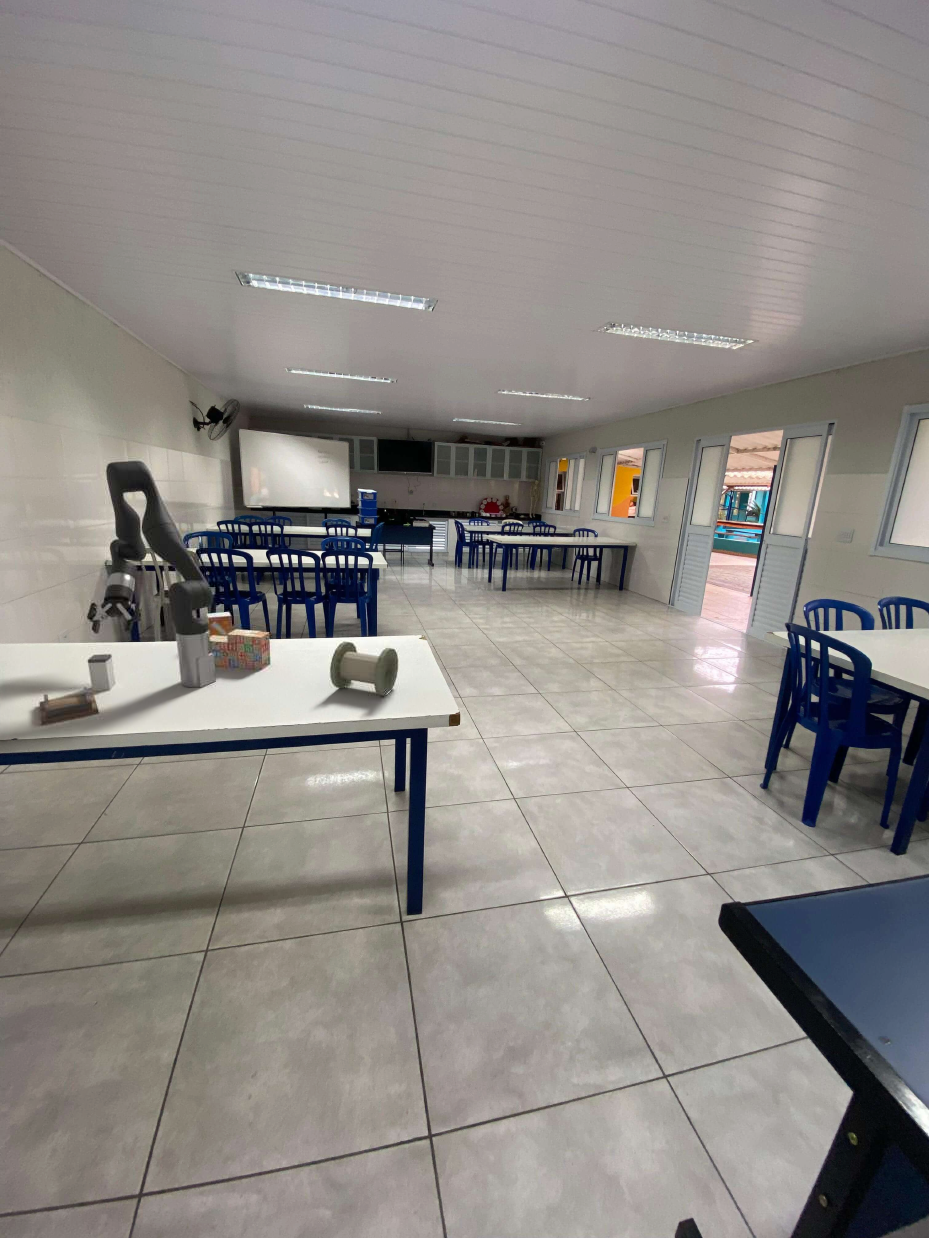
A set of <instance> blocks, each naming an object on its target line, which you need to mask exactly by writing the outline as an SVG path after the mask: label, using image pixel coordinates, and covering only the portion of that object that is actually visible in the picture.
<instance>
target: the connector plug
mask: <svg viewBox="0 0 929 1238" xmlns="http://www.w3.org/2000/svg"><path fill="white" fill-rule="evenodd" d="M112 656H113V655H112V654H111V653H107V654H106V653H105V654H93V655H92V656H90V657H89V658H88V659H87V666H88V671H89V677H90V684H91V688H92V689H91V690H92V691H91V692H95V691H96V692H97V691H98V692H99V691H110V690H112V688H114V687H115V686H116V678H115V672H114V671H115V670H114V665H113V664H114V663H113V657H112Z"/></svg>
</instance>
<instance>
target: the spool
mask: <svg viewBox="0 0 929 1238" xmlns="http://www.w3.org/2000/svg"><path fill="white" fill-rule="evenodd" d="M329 671H330V672H329V673H330V674H329V675H330V676H329V678H330V680H331V684H332V685H333V686H334V687H335V688H337V689H345V688H346V687H348V686H349V685H350V684H351V683H352V681H353V682H359V683H365V684H371V685H374V689H375V692H376V693H377V695H378V696H384V697H385V695H386V694H387V693H388V692H389V691H390V690H391V689H392V690H393V688H394V687H395V683H396V680H397V677H398V671H399V656H398V652H397V651H396V650H395V648H391V647H385V648H384V649H383V650H382V651H381V653H380V654H379V655H374V654H367V653H361V652H358V651H357V647H356V646H355V644H354V643H353V642H350V641H349V642H348V641H343V642H341V643H339V644H338V646H337V647H336V648H335V650H334V653H333V655H332V658H331V662H330V667H329ZM349 683H350V684H349ZM348 684H349V685H348ZM347 685H348V686H347ZM345 686H346V687H345ZM344 687H345V688H344ZM392 690H391V691H392ZM387 695H388V694H387ZM387 695H386V696H387Z"/></svg>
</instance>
